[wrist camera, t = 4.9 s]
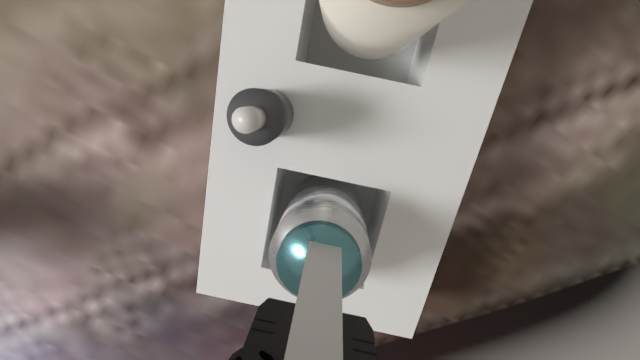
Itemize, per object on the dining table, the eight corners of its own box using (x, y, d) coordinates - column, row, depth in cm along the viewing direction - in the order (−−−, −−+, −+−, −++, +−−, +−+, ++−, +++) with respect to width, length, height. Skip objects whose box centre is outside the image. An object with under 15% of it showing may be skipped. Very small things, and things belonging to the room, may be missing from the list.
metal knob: (297, 165, 20) (274, 204, 13) (368, 181, 20) (385, 228, 13) (285, 230, 22) (258, 298, 15) (352, 245, 22) (358, 320, 15)
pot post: (251, 85, 15) (216, 80, 11) (297, 94, 15) (280, 94, 11) (245, 131, 16) (210, 145, 12) (289, 140, 16) (271, 157, 12)
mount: (270, -113, 17) (244, -194, 12) (510, -63, 17) (577, -125, 12) (225, 252, 24) (196, 292, 19) (397, 289, 24) (411, 338, 19)
